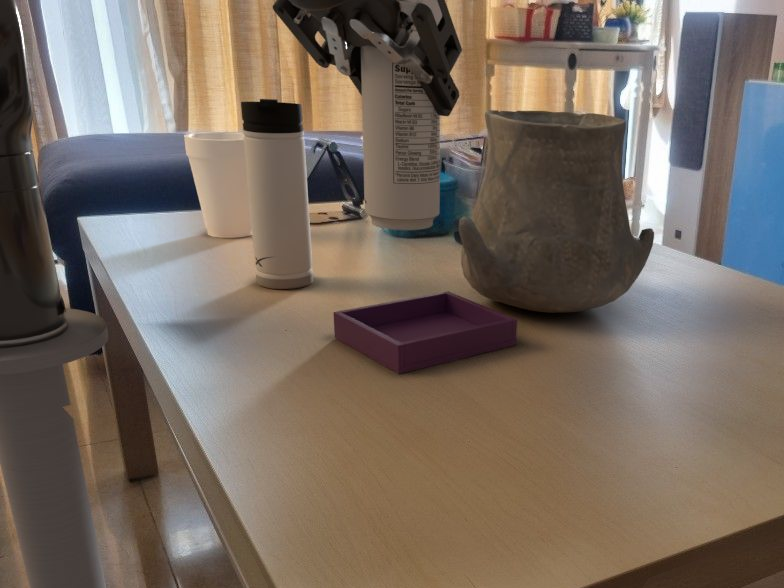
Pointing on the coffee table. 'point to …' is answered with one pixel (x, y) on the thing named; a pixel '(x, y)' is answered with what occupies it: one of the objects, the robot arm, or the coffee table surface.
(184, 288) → the coffee table surface
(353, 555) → the coffee table surface
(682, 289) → the coffee table surface
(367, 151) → the energy drink can
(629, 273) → the vessel
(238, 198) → the foam cup
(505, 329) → the tray
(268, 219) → the travel mug
